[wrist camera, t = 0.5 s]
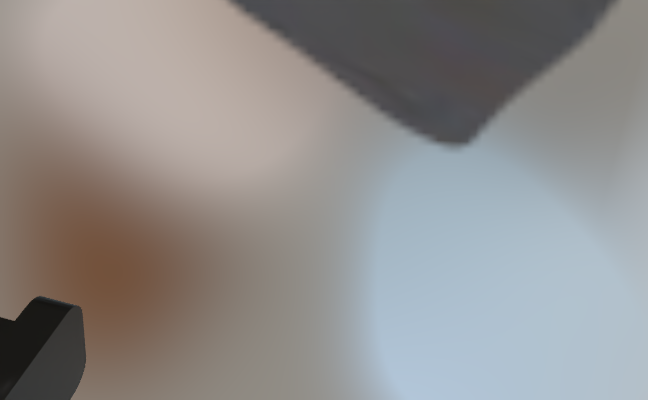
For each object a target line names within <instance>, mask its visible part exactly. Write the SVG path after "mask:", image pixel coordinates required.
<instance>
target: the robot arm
mask: <svg viewBox="0 0 648 400" xmlns="http://www.w3.org/2000/svg"><path fill="white" fill-rule="evenodd" d="M85 363H86V352H85V339H84V327H83V315H82V309H81V308H80V307H79V306H77V305H73V304H69V303H65V302H61V301H57V300H54V299H50V298H46V297H42V296H39V297H36V298H34V299H33V300H32V301H31V302H30V303H29V304H28V305H27V307H26V308H25V309H24V310H23V311H22V313H21V314H20V315H19V317H18V318H17V319H16V320H15V321H12V320H8V319H4V318H1V317H0V400H70V399H71V397H72V396H73V394H74V393H75V391H76V389H77V387H78V385H79V383H80V380H81V378H82V375H83V372H84V368H85Z"/></svg>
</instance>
